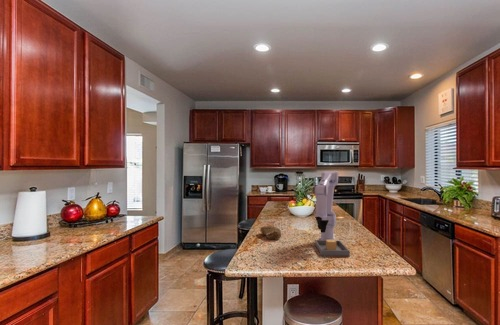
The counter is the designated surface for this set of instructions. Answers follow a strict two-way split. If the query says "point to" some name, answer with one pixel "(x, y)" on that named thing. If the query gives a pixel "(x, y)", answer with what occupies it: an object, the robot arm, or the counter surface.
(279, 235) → the brown rounded lump
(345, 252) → the charcoal tray
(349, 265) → the counter surface
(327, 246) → the ochre block
